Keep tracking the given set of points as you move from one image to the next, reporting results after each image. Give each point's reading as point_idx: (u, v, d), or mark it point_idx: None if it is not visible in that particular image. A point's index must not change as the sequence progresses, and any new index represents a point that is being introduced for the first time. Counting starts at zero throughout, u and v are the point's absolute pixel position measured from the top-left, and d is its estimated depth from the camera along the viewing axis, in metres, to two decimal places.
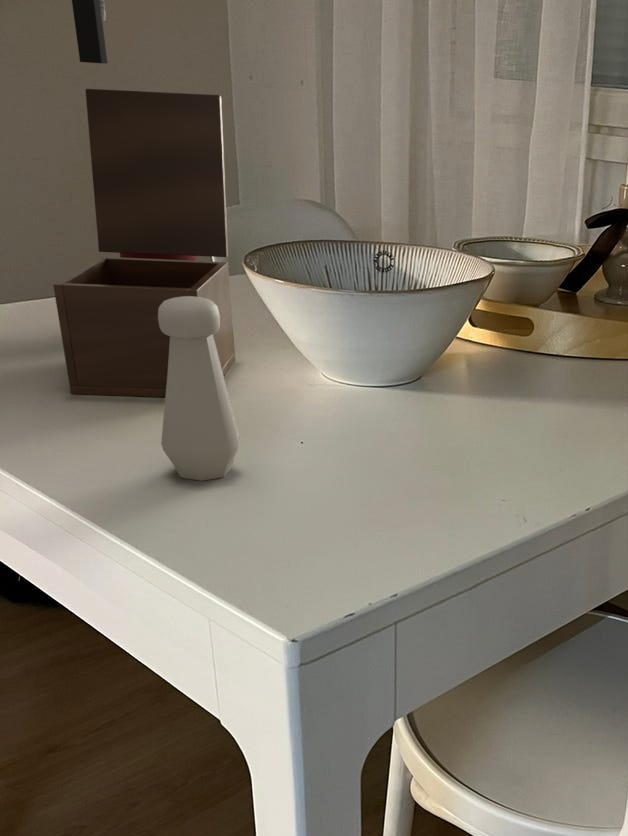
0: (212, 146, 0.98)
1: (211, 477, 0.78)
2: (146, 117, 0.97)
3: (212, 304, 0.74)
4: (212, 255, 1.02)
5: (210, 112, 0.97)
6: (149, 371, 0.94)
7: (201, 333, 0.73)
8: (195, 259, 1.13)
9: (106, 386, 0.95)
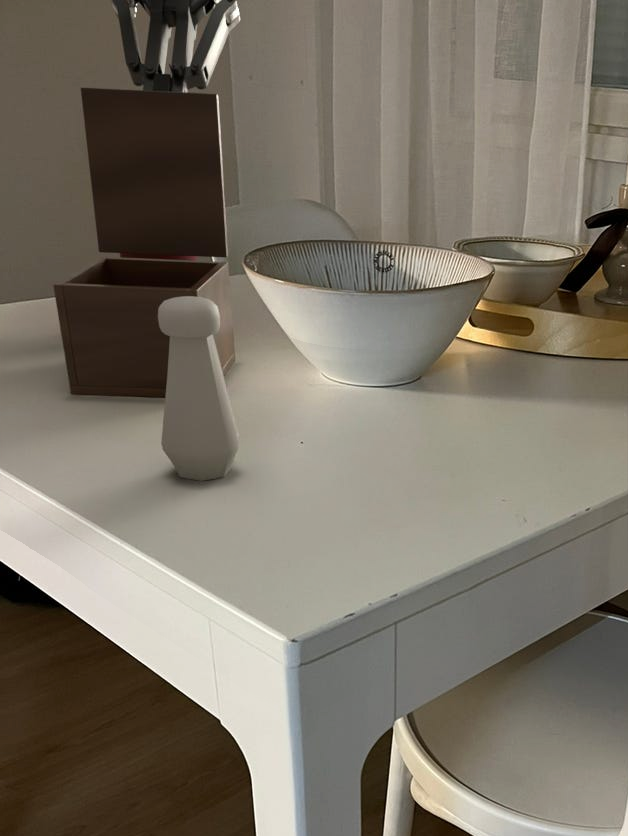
0: (210, 146, 0.98)
1: (211, 477, 0.78)
2: (143, 117, 0.96)
3: (212, 304, 0.74)
4: (212, 255, 1.02)
5: (207, 111, 0.96)
6: (149, 371, 0.94)
7: (201, 333, 0.73)
8: (195, 259, 1.13)
9: (106, 386, 0.95)
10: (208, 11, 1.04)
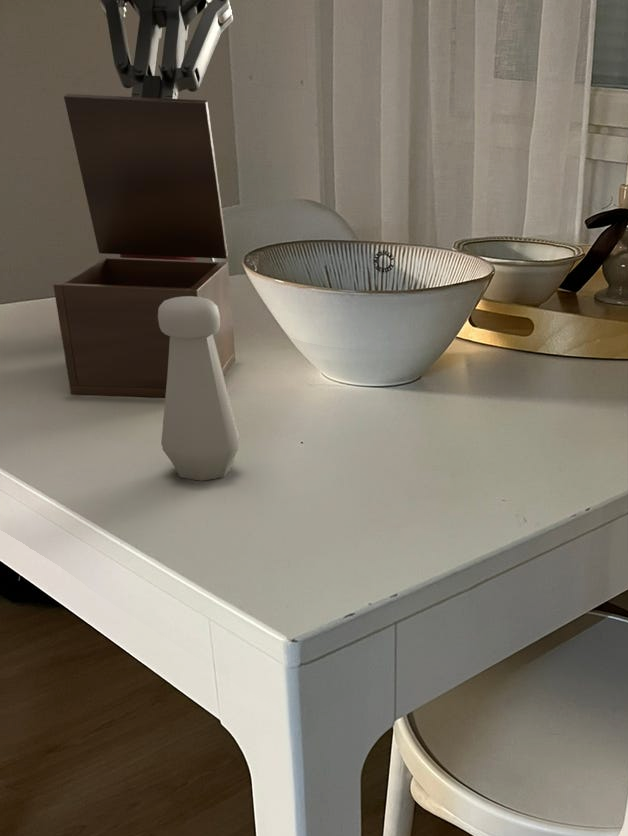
0: (202, 154, 0.95)
1: (211, 477, 0.78)
2: (131, 126, 0.93)
3: (212, 304, 0.74)
4: (212, 257, 1.02)
5: (197, 120, 0.93)
6: (149, 371, 0.94)
7: (201, 332, 0.73)
8: (195, 259, 1.13)
9: (106, 386, 0.95)
10: (200, 11, 1.01)
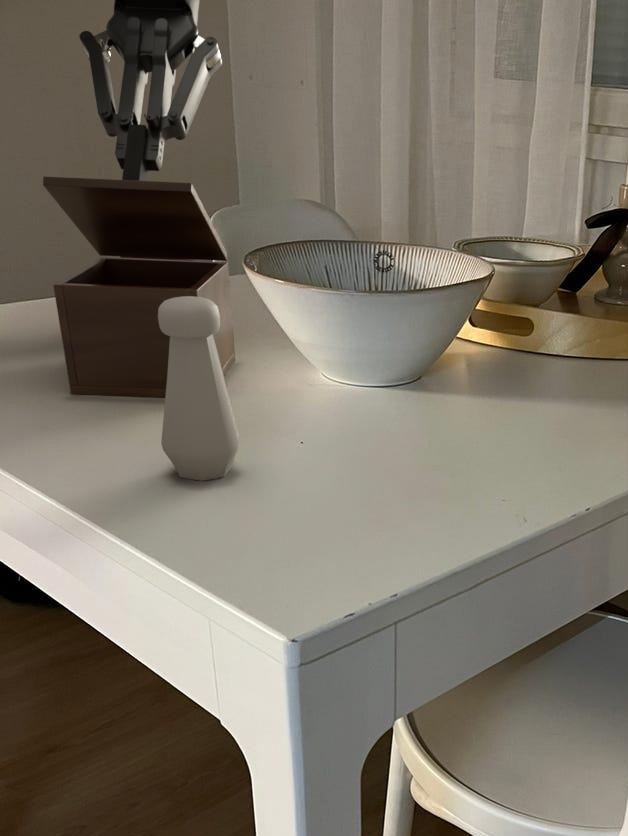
0: (193, 215, 0.92)
1: (211, 477, 0.78)
2: (117, 200, 0.90)
3: (212, 304, 0.74)
4: None
5: (184, 199, 0.89)
6: (149, 371, 0.94)
7: (201, 333, 0.73)
8: None
9: (106, 386, 0.95)
10: (187, 55, 0.97)
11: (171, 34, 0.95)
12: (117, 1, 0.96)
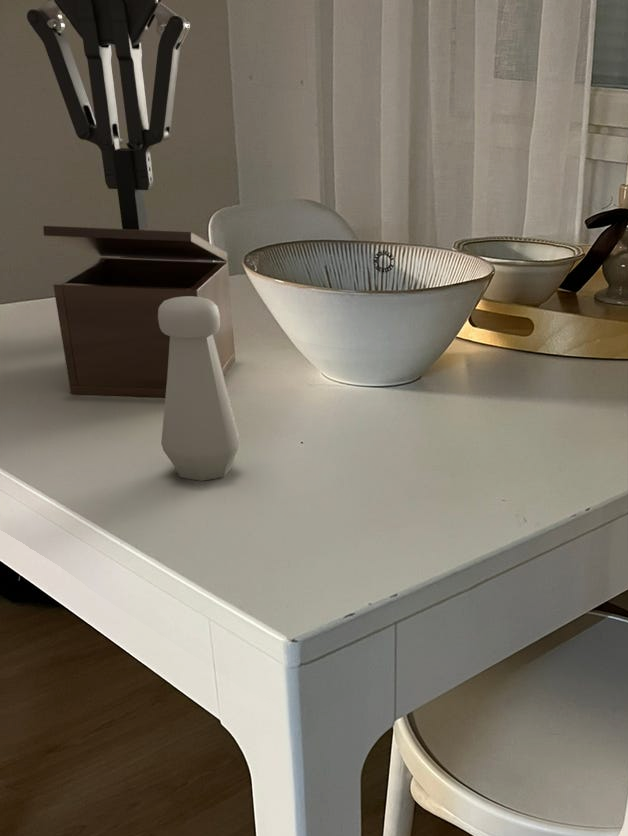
0: (193, 248, 0.93)
1: (211, 477, 0.78)
2: (117, 241, 0.90)
3: (212, 304, 0.74)
4: (213, 260, 1.02)
5: (184, 243, 0.90)
6: (149, 371, 0.94)
7: (201, 333, 0.73)
8: None
9: (106, 386, 0.95)
10: (150, 22, 0.85)
11: (129, 11, 0.83)
12: None
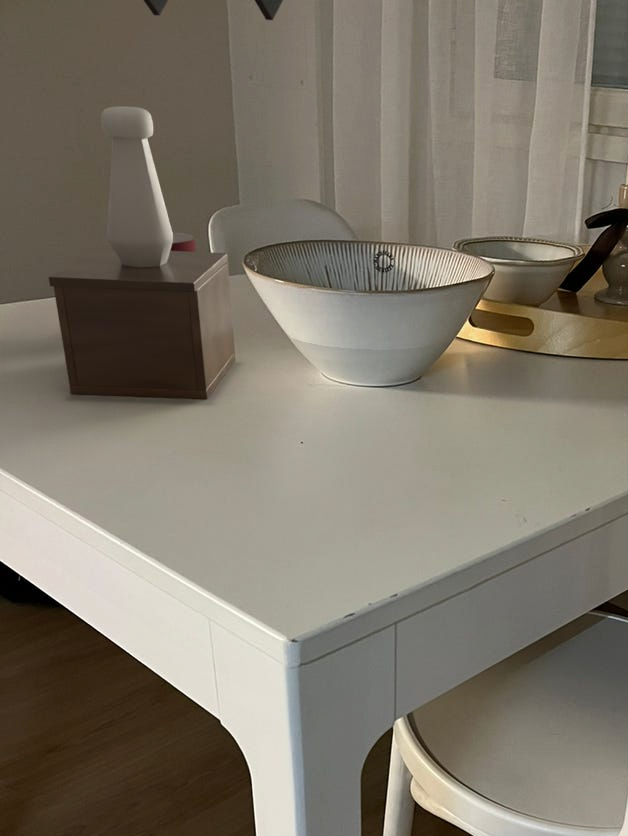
0: None
1: (149, 265, 0.94)
2: None
3: (146, 111, 0.90)
4: None
5: None
6: (149, 371, 0.94)
7: (137, 133, 0.89)
8: None
9: (106, 386, 0.95)
10: None
11: None
12: None
